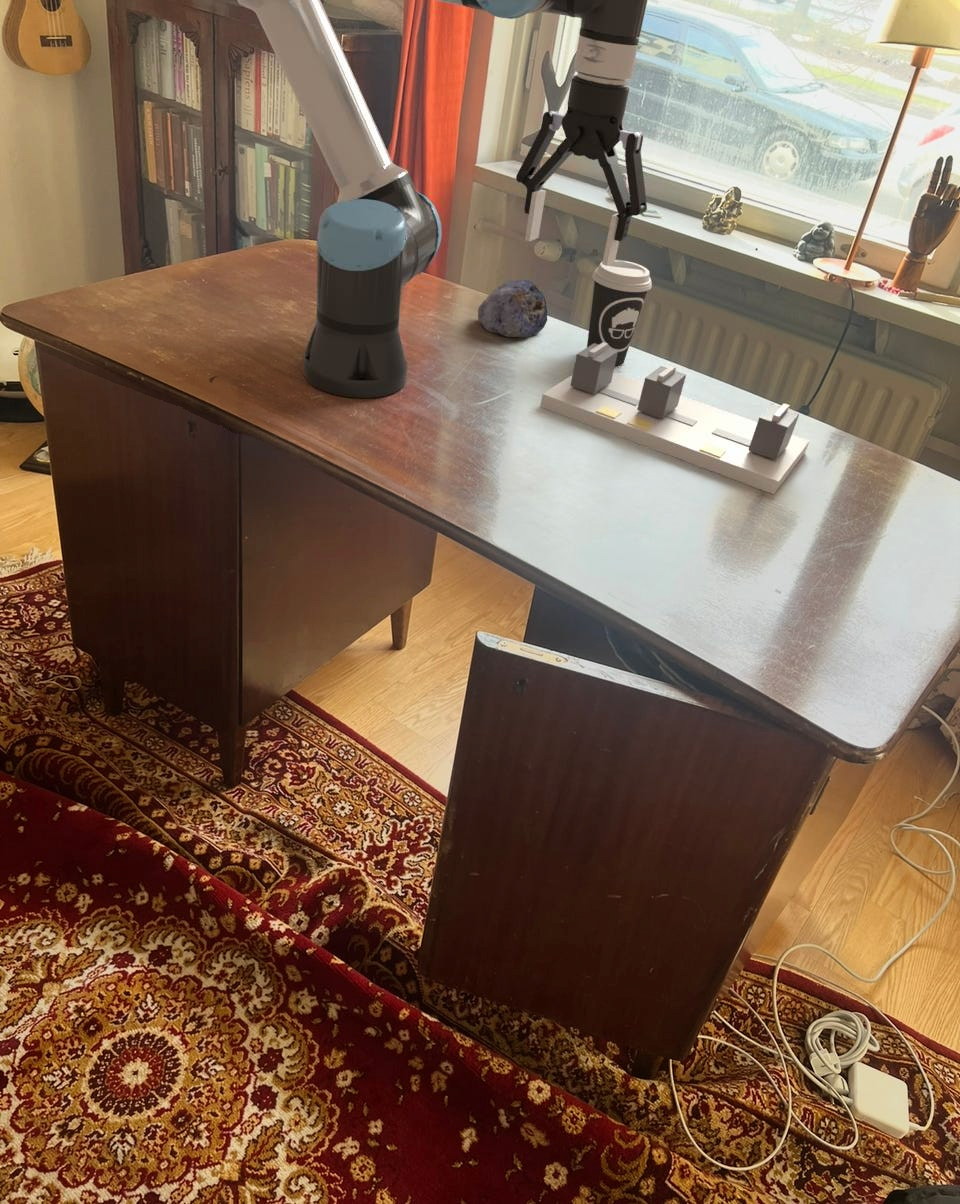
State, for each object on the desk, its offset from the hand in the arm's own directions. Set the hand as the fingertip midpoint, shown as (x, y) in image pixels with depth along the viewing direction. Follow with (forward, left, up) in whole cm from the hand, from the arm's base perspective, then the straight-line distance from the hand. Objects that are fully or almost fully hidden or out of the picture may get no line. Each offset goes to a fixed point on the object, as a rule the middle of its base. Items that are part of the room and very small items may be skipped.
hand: (569, 251), depth 131 cm
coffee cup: (+2, +17, -20) cm, 27 cm away
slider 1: (+7, 0, -18) cm, 19 cm away
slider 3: (+35, 0, -18) cm, 40 cm away
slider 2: (+18, 0, -18) cm, 26 cm away
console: (+21, 0, -20) cm, 29 cm away
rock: (-16, +15, -20) cm, 30 cm away
